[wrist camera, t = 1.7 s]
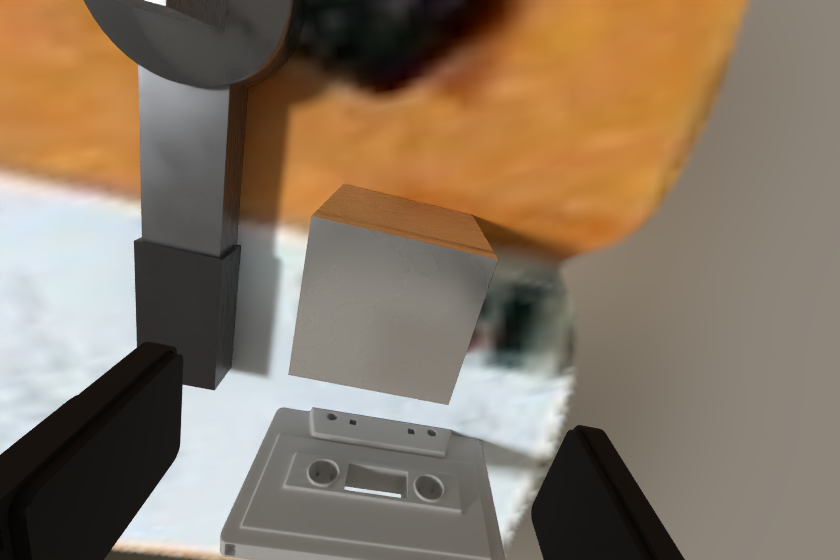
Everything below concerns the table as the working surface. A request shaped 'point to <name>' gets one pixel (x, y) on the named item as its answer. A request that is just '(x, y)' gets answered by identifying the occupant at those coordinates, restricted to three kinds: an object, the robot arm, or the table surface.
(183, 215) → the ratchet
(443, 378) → the grey block
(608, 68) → the table surface
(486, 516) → the cassette
